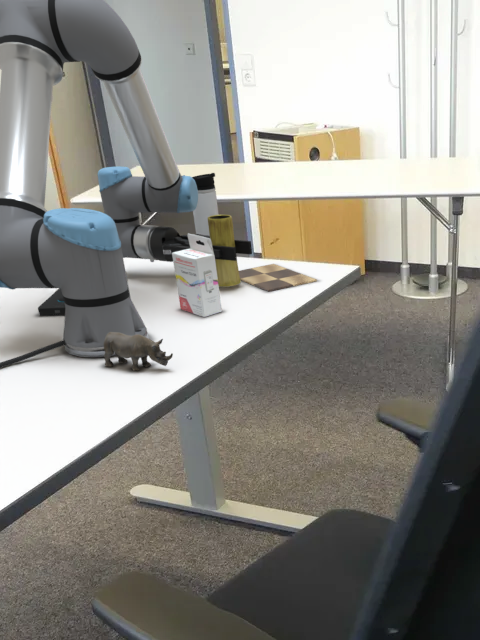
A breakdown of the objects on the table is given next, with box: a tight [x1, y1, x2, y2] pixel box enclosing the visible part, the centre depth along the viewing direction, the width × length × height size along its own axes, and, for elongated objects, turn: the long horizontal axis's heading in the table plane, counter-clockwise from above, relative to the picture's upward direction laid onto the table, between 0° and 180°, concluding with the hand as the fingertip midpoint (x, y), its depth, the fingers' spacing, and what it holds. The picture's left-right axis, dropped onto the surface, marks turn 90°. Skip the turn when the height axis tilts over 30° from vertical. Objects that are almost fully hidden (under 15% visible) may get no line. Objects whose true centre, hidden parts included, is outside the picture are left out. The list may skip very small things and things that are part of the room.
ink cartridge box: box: [172, 232, 223, 318], centre depth 155 cm, size 9×5×15 cm, turn 47°
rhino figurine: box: [103, 332, 174, 371], centre depth 131 cm, size 4×14×6 cm, turn 69°
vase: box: [208, 214, 242, 288], centre depth 169 cm, size 6×6×14 cm
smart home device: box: [37, 288, 66, 317], centre depth 167 cm, size 8×2×20 cm
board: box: [239, 263, 318, 293], centre depth 179 cm, size 13×20×1 cm, turn 36°
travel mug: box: [191, 172, 220, 236], centre depth 192 cm, size 6×7×20 cm
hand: (242, 250), depth 167 cm, fingers closed on vase, 5 cm apart
